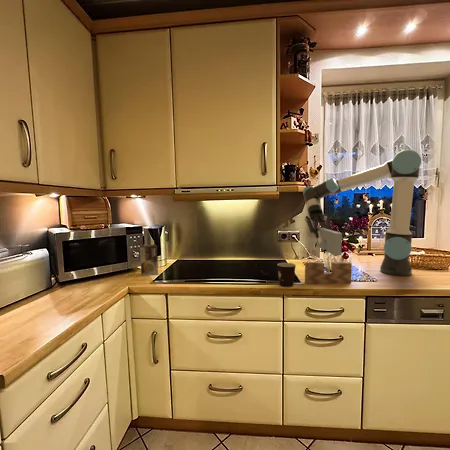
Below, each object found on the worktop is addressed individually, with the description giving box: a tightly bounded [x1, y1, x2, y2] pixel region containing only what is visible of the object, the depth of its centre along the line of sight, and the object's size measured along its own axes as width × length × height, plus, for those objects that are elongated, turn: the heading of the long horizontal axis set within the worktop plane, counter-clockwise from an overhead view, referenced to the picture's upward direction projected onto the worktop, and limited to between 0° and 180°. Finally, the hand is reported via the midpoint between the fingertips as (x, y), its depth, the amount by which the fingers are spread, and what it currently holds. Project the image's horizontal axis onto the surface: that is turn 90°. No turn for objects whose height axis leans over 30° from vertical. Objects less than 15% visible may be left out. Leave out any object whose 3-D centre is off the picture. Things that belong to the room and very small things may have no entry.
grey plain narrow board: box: [316, 227, 343, 256], centre depth 142 cm, size 24×3×10 cm, turn 1°
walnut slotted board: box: [304, 261, 353, 285], centre depth 143 cm, size 22×3×10 cm, turn 92°
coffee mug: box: [277, 262, 296, 288], centre depth 141 cm, size 12×9×10 cm
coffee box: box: [139, 244, 159, 277], centre depth 162 cm, size 9×6×16 cm
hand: (324, 242), depth 147 cm, fingers closed on grey plain narrow board, 3 cm apart
